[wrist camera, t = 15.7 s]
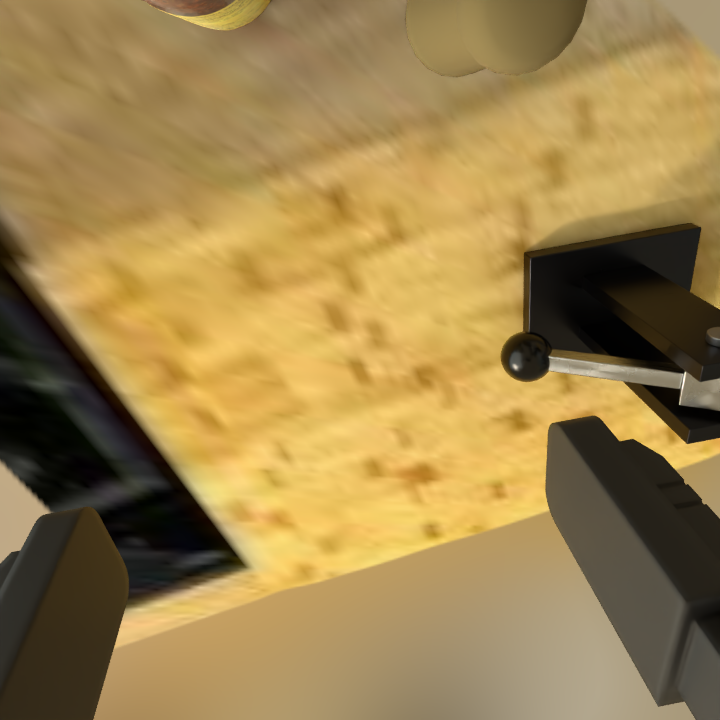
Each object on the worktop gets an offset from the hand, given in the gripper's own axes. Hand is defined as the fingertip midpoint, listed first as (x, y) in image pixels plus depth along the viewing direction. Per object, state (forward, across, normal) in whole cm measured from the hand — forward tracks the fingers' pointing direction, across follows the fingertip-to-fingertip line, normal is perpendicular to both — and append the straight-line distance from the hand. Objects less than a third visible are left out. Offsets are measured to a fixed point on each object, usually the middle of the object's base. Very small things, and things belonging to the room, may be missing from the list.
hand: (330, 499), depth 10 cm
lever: (+20, -17, +12) cm, 29 cm away
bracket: (+28, -20, +12) cm, 36 cm away
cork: (+28, -10, -7) cm, 31 cm away
